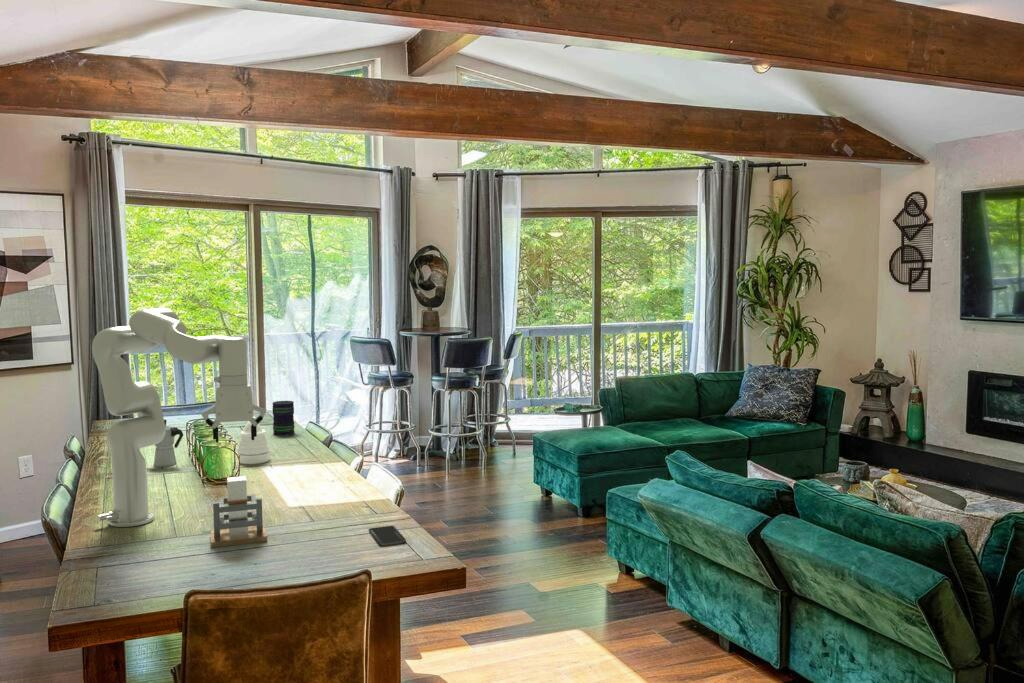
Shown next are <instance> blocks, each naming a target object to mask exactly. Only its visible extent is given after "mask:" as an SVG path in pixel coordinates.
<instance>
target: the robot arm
mask: <svg viewBox="0 0 1024 683" xmlns="http://www.w3.org/2000/svg"><path fill="white" fill-rule="evenodd" d="M158 346H163V347H165V349H166V351H167V353H168V354H169V355H171V356H172V357H173V358H175V359H177V360H180V361H182V362H185V363H188V364H192V365H193V364H195V365H201V364H206V363H215V362H216V363H217V362H218V376H216V377H213V383H218V384H219V385H217V387H216V390H215V400H214V401H215V402H214V403H215V404H214V406H213V407H210V408H209V409H207V410H205V411H203V412H202V413H201V417H202V418H203V419H204V421H205V423H206V424H207V425H208V426H209V427H211V428H212V439H213V440H215V443H217V444H218V443H219V427H218V426H219V425H220V423H232V422H233V423H237V422H249V421H250V422H251V423H252V425H251V439H252V440H254V437H257V430H256V426H257V425H258V424H259V425H260V423H261V422H262V421H263V419H264V417H265V416H266V413H267V409H265V408H263V407H261V406H259V405H256V404H254V400H253V399H254V398H253V392H252V388H251V387H252V386H251V384H248V352H247V350H248V348H247V341H246V338H244V337H241V336H226V335H222V334H221V335H220V334H214V335H204V336H203V335H202V336H196V337H195V336H190V335H187V327H186V324H185V323H184V322H183V321H181V320H180V318H179V316H178V314H177V313H176V312H175V311H174V310H172V309H170V308H165V307H164V308H163V307H162V308H143V309H139V310H137V311H135V312H134V313H132V314H131V316H130V318H129V320H128V325H122V326H121V325H120V326H119V325H118V326H112V327H111V326H110V327H108V328H104V329H102V330H101V331H99V332H97V333H96V335H95V336H94V338H93V341H92V344H91V352H92V357H93V359H94V362H95V364H96V367H97V370H98V372H99V376H100V382H101V386H102V388H101V389H102V391H103V395H104V396H103V397H104V402H105V405H106V409H107V411H108V413H109V414H110V415H112V416H115V417H118V416H119V417H121V416H128V415H133V414H134V415H135V414H137V417H132V418H127V419H122V420H119V421H116V422H115V423H113V424H112V425H110V427H109V428H108V429H107V432H106V440H107V445H108V448H109V452H110V459H111V470H112V471H111V472H112V474H111V475H112V491H113V492H112V493H113V496H112V497H113V508H110V511H108V512H106V513H101V514H98V515H97V517H96V518H97V521H98V522H103V521H106V522H108V524H109V525H110V526H111V527H116V528H129V527H130V528H131V527H137V526H141V525H146V524H148V523H151V522H153V520H154V519H155V514H154V513H152V512H150V511H149V493H148V490H149V489H148V470H147V469H148V468H147V462H146V459H145V457H144V455H143V454H142V452H141V450H140V449H143V448H146V447H151V446H155V444H157V443H159V442H161V441H162V440H163V438H164V436H165V423H164V420H165V419H164V414H163V409H162V403H161V398H160V394H159V392H158V390H157V389H156V387H155V386H154V384H152V383H150V382H148V381H145V380H144V381H134V380H133V377H132V370H131V368H130V366H129V365H128V363H127V361H126V360H125V359H123V358H122V357H121V356H122V355H126V354H128V355H129V354H138V353H146V352H148V351H152V350H153V349H154V348H156V347H158ZM254 411H256V412H259V414H258V416H256V419H254V418H253V417H254ZM214 413H215V414H214ZM211 414H214V416H215V420H214V421H213V420H212V419H211V418H210V417H209V415H211Z"/></svg>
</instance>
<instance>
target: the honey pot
mask: <svg viewBox="0 0 1024 683" xmlns="http://www.w3.org/2000/svg"><path fill="white" fill-rule="evenodd" d="M253 418H254V419H256V418H257V416H253ZM251 425H252V423H251V422H250V421H247V422H246V424H245V426H244V428H243V429H242V431H241V432H240V433H239V434H240V438H239V440H238V444H237V448H236V452H237V451H238V453H239V454H240V463H239V464H242V465H252V464H253V465H255V464H262V463H267V462H268V461H270V460H271V451H270V450H271V447H270V444H269V442H268V438H267V437H266V433H267V431H266V430H265V429H263V428H262V426H261V425H260V423H259V424H258V425H257V426H256V430H257V437H254V440H252V439H251Z"/></svg>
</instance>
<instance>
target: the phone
mask: <svg viewBox="0 0 1024 683" xmlns="http://www.w3.org/2000/svg"><path fill="white" fill-rule="evenodd" d="M368 534H369V535H370V536H371V538H373V540H374V542H375V543H376V545H378V547H381V548H382V547H383V548H384V547H391V546H397V545H398V546H399V545H405V544H406V542H407V540H406V538H405V537H404V535H403V534H401V532H400V531H399V530H398V529H397V527H396V526H395V525H388V526H387V525H386V526H380V527H378V526H377V527H371V528H369V529H368Z"/></svg>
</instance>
